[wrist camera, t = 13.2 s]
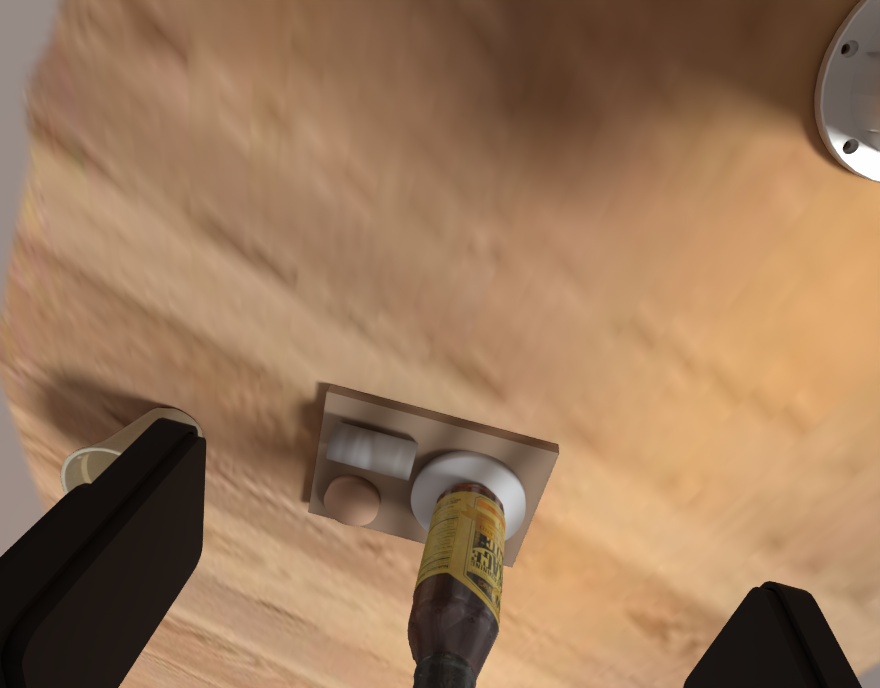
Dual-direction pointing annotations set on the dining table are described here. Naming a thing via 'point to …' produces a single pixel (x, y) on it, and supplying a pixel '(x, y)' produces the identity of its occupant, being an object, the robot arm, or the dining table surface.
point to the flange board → (420, 466)
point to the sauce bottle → (458, 588)
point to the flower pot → (112, 448)
